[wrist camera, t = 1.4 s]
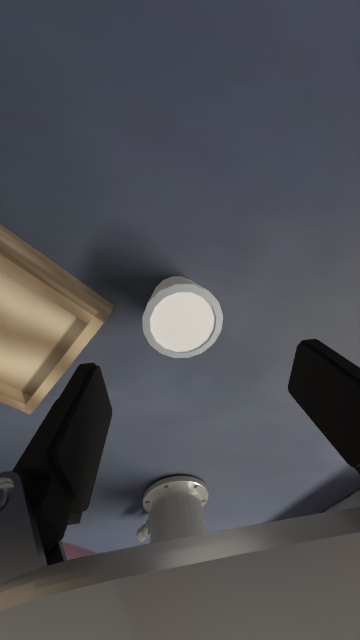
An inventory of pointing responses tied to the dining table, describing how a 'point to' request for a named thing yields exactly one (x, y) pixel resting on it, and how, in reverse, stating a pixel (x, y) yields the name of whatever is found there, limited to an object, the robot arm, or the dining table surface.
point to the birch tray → (40, 321)
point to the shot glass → (181, 318)
